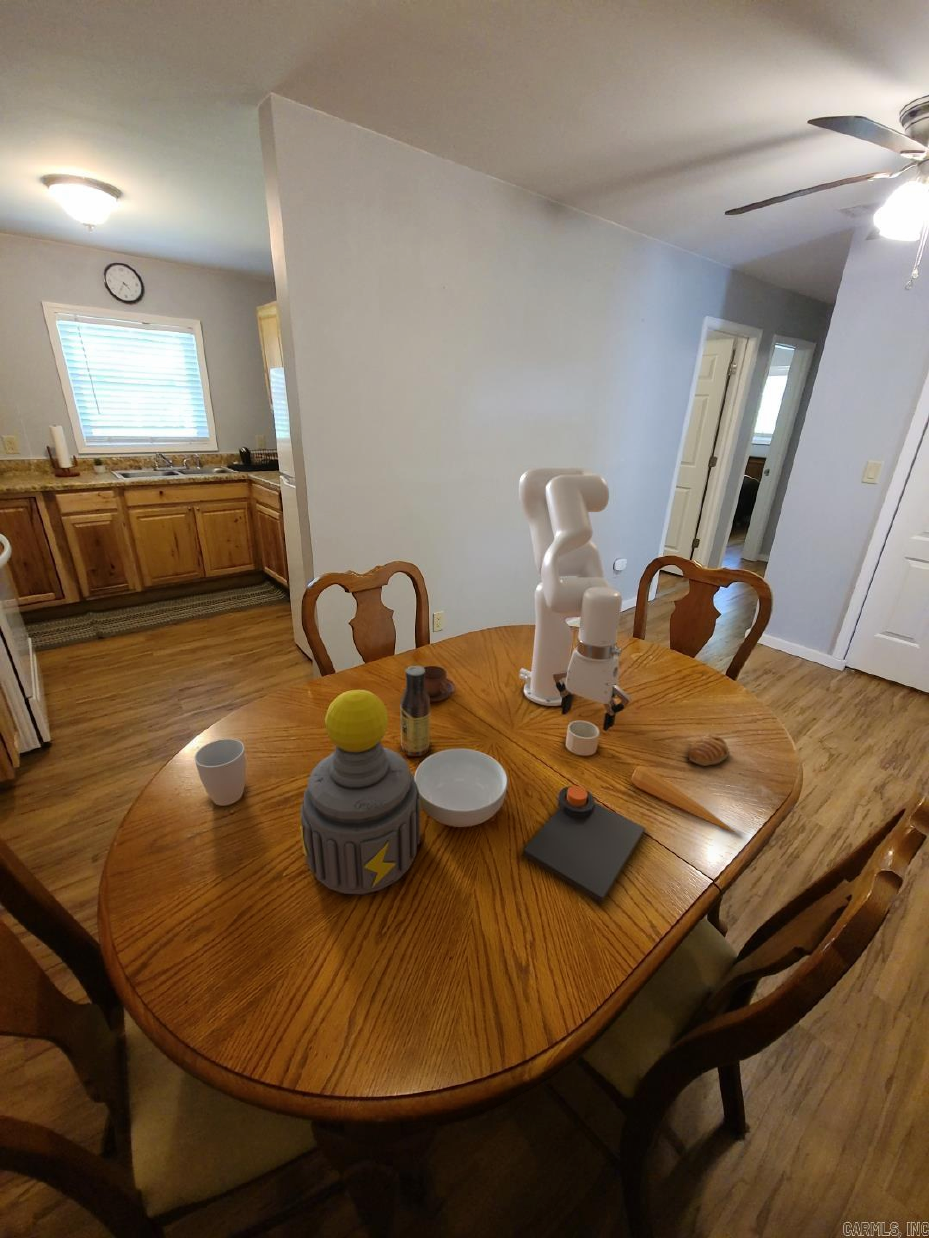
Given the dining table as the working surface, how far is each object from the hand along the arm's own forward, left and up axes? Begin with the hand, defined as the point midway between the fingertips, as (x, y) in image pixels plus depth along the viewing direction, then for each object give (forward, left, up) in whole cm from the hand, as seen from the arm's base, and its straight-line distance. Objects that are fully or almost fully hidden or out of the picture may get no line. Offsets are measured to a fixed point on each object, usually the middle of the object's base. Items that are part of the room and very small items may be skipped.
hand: (586, 719), depth 108 cm
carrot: (+23, -5, -8) cm, 24 cm away
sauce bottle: (-27, -25, -8) cm, 38 cm away
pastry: (+23, +15, -8) cm, 28 cm away
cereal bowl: (-9, -32, -8) cm, 34 cm away
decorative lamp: (-15, -50, -8) cm, 53 cm away
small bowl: (0, 0, -7) cm, 7 cm away
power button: (+8, -19, -5) cm, 21 cm away
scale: (+13, -25, -7) cm, 29 cm away
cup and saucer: (-40, -5, -8) cm, 41 cm away
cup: (-44, -58, -8) cm, 73 cm away
